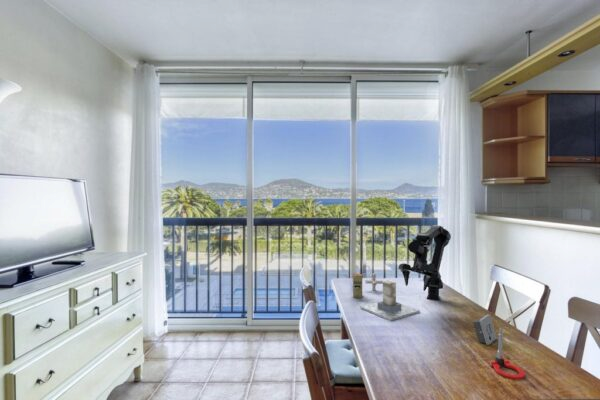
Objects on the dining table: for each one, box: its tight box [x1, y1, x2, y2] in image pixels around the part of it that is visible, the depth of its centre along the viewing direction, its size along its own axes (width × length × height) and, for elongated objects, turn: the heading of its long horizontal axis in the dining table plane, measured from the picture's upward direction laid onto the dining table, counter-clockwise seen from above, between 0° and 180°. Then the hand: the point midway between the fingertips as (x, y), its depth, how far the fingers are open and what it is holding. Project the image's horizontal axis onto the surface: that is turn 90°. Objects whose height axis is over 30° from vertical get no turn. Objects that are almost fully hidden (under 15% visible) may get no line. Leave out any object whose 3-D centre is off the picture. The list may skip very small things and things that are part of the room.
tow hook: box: [488, 327, 526, 380], centre depth 109 cm, size 8×13×9 cm
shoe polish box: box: [352, 273, 363, 299], centre depth 189 cm, size 5×5×12 cm
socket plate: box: [359, 300, 421, 322], centre depth 166 cm, size 20×20×4 cm
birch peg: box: [382, 279, 397, 306], centre depth 166 cm, size 4×4×13 cm
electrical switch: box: [472, 314, 497, 346], centre depth 133 cm, size 9×5×9 cm, turn 132°
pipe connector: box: [364, 272, 384, 292], centre depth 200 cm, size 10×10×10 cm
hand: (415, 288), depth 168 cm, fingers open, 9 cm apart
